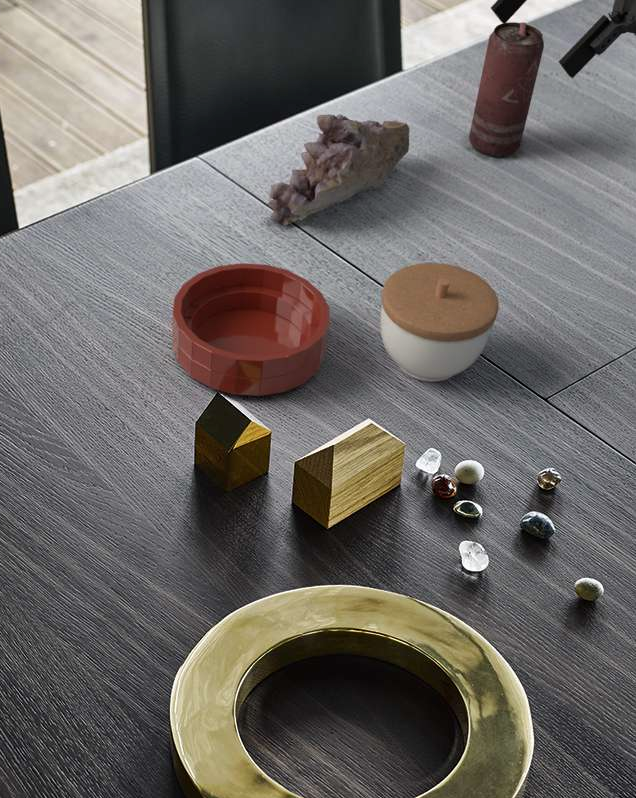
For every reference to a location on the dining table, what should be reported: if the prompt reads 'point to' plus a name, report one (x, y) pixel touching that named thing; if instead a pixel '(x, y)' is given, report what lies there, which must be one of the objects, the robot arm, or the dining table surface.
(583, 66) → the robot arm
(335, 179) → the mineral specimen
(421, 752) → the dining table surface
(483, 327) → the trinket box
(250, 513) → the dining table surface
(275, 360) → the bowl
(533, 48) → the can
